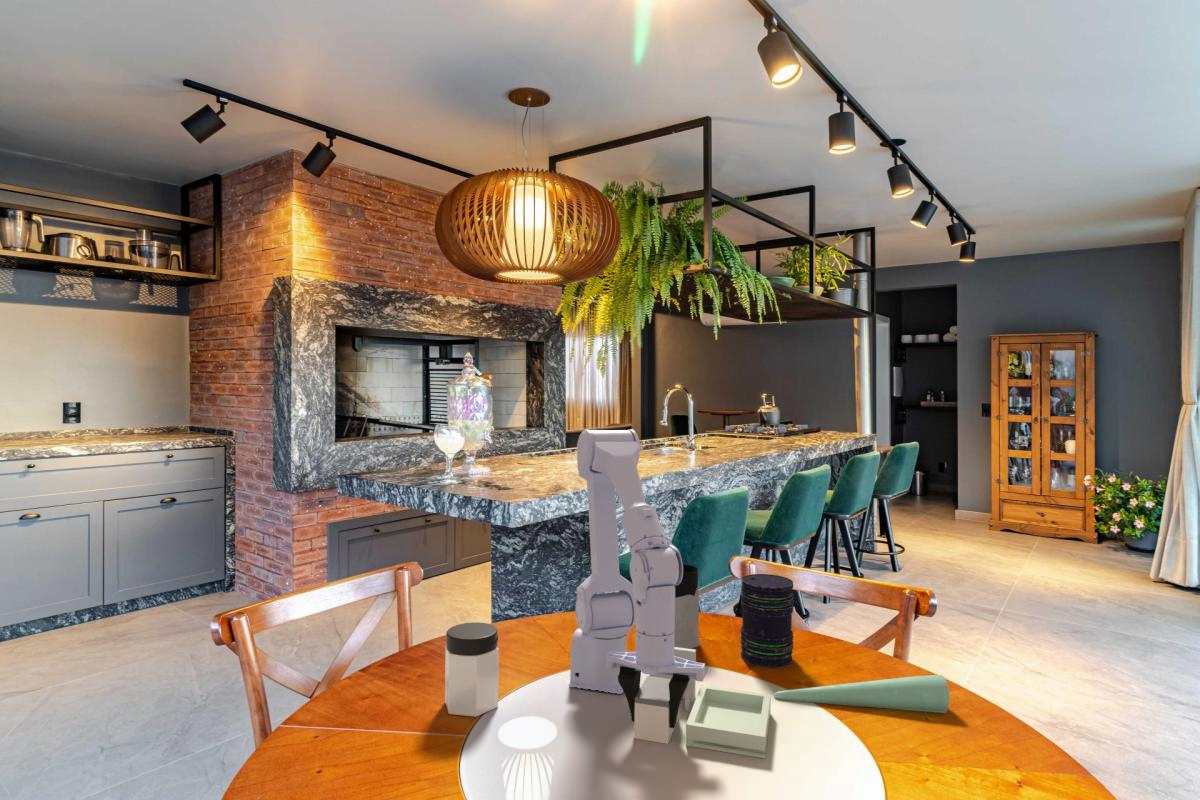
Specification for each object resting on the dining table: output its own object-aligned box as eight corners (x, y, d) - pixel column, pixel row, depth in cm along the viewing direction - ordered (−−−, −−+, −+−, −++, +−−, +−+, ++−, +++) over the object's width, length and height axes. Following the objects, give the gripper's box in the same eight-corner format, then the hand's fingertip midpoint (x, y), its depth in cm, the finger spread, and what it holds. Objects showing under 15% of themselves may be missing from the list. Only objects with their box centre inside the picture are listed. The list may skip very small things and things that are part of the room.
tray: (685, 745, 96) (686, 724, 96) (700, 703, 109) (701, 685, 109) (764, 758, 92) (765, 736, 92) (770, 713, 106) (770, 694, 106)
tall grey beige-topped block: (634, 738, 97) (634, 697, 97) (647, 713, 105) (647, 675, 105) (668, 743, 96) (668, 702, 96) (678, 718, 104) (678, 680, 104)
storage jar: (799, 655, 130) (800, 578, 130) (785, 672, 122) (786, 590, 122) (749, 645, 136) (750, 571, 136) (732, 661, 127) (733, 582, 127)
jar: (502, 713, 105) (503, 636, 105) (449, 721, 102) (450, 642, 102) (491, 689, 113) (492, 619, 113) (442, 696, 110) (443, 624, 110)
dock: (643, 704, 108) (643, 655, 108) (650, 691, 113) (651, 644, 113) (689, 711, 106) (690, 661, 106) (695, 697, 111) (695, 649, 111)
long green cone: (772, 660, 114) (937, 669, 111) (771, 692, 114) (937, 702, 111) (776, 673, 109) (950, 683, 106) (776, 707, 109) (950, 717, 106)
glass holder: (707, 647, 134) (707, 572, 134) (638, 652, 131) (639, 575, 131) (691, 632, 142) (692, 562, 142) (627, 636, 139) (628, 564, 139)
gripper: (600, 632, 97) (599, 726, 97) (700, 644, 93) (698, 743, 93) (613, 617, 104) (612, 705, 104) (707, 628, 99) (706, 720, 99)
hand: (654, 721), depth 99 cm, fingers closed on tall grey beige-topped block, 5 cm apart
